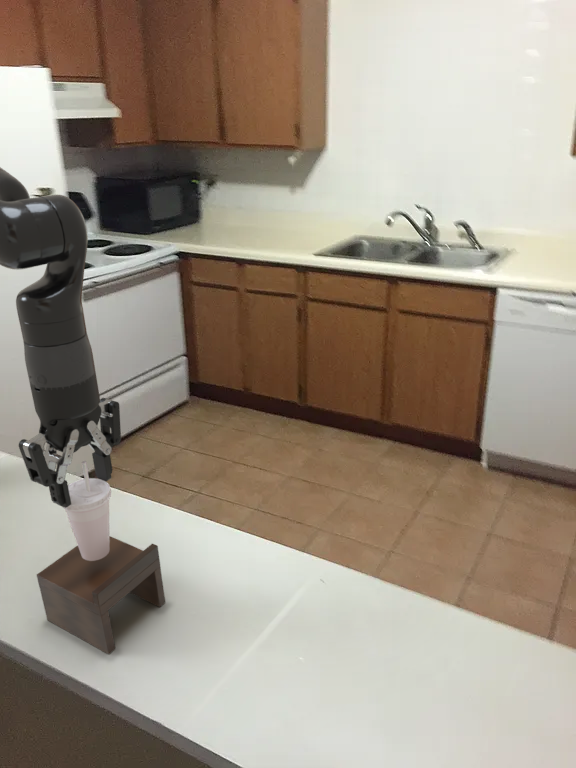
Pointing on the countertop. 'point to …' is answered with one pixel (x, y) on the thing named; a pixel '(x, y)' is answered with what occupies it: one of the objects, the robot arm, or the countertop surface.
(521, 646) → the countertop surface
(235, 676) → the countertop surface
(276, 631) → the countertop surface
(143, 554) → the shelf
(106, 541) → the smoothie
